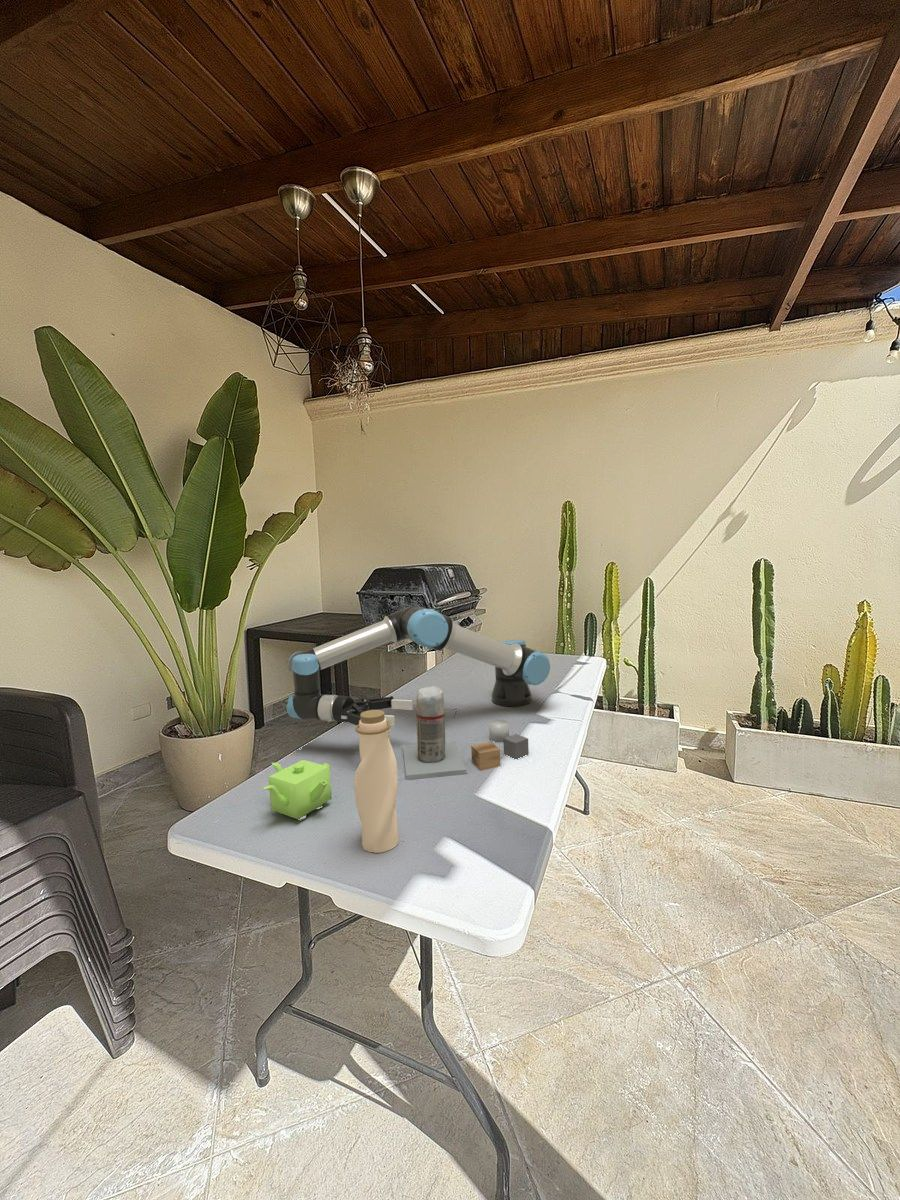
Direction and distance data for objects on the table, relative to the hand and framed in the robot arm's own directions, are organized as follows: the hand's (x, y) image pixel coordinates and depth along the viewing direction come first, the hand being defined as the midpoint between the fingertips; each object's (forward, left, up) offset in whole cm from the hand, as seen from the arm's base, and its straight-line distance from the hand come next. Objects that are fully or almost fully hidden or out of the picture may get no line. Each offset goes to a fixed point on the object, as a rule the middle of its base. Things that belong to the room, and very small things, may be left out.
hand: (403, 712), depth 152 cm
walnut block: (+8, +22, -14) cm, 27 cm away
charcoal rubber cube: (+4, +31, -14) cm, 35 cm away
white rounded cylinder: (-9, +29, -14) cm, 34 cm away
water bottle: (+40, -8, -14) cm, 43 cm away
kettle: (+23, -27, -14) cm, 38 cm away
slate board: (+3, +7, -14) cm, 16 cm away
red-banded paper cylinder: (+3, +7, -13) cm, 15 cm away
